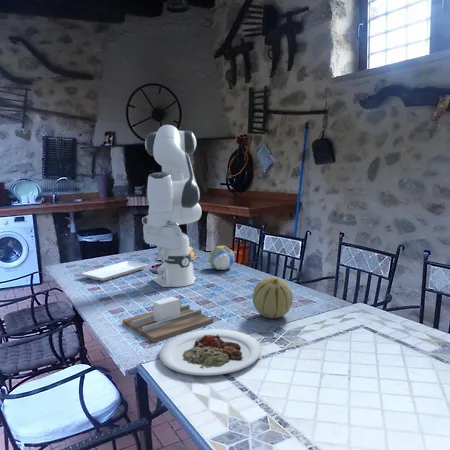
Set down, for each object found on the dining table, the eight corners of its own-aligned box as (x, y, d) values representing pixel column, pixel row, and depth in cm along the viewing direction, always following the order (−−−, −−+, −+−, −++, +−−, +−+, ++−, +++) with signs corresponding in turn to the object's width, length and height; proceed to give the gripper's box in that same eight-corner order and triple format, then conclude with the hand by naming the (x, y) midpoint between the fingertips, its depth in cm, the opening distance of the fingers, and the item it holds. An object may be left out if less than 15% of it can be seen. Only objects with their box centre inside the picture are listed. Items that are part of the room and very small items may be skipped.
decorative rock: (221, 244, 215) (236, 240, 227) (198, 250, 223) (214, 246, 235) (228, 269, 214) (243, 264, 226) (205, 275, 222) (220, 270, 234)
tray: (149, 269, 229) (148, 263, 229) (102, 284, 204) (101, 277, 204) (128, 266, 239) (127, 260, 239) (80, 279, 214) (80, 273, 213)
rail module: (154, 320, 149) (153, 301, 148) (174, 314, 155) (173, 296, 154) (161, 323, 146) (160, 304, 145) (181, 317, 151) (180, 298, 150)
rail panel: (122, 324, 151) (122, 316, 151) (178, 307, 166) (178, 300, 166) (154, 342, 134) (153, 333, 134) (213, 322, 150) (212, 314, 149)
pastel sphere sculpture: (203, 256, 259) (202, 241, 257) (186, 265, 237) (185, 249, 236) (167, 254, 268) (166, 240, 267) (147, 262, 246) (146, 247, 245)
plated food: (188, 393, 105) (188, 380, 104) (144, 350, 130) (143, 339, 129) (282, 360, 120) (282, 349, 120) (226, 327, 145) (226, 318, 145)
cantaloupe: (270, 307, 164) (269, 269, 161) (301, 316, 153) (301, 276, 151) (244, 317, 153) (243, 277, 151) (275, 328, 143) (275, 285, 141)
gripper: (186, 221, 139) (188, 262, 141) (154, 216, 154) (156, 253, 157) (170, 223, 135) (172, 265, 137) (139, 218, 150) (141, 256, 153)
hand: (163, 259), depth 147 cm, fingers closed
